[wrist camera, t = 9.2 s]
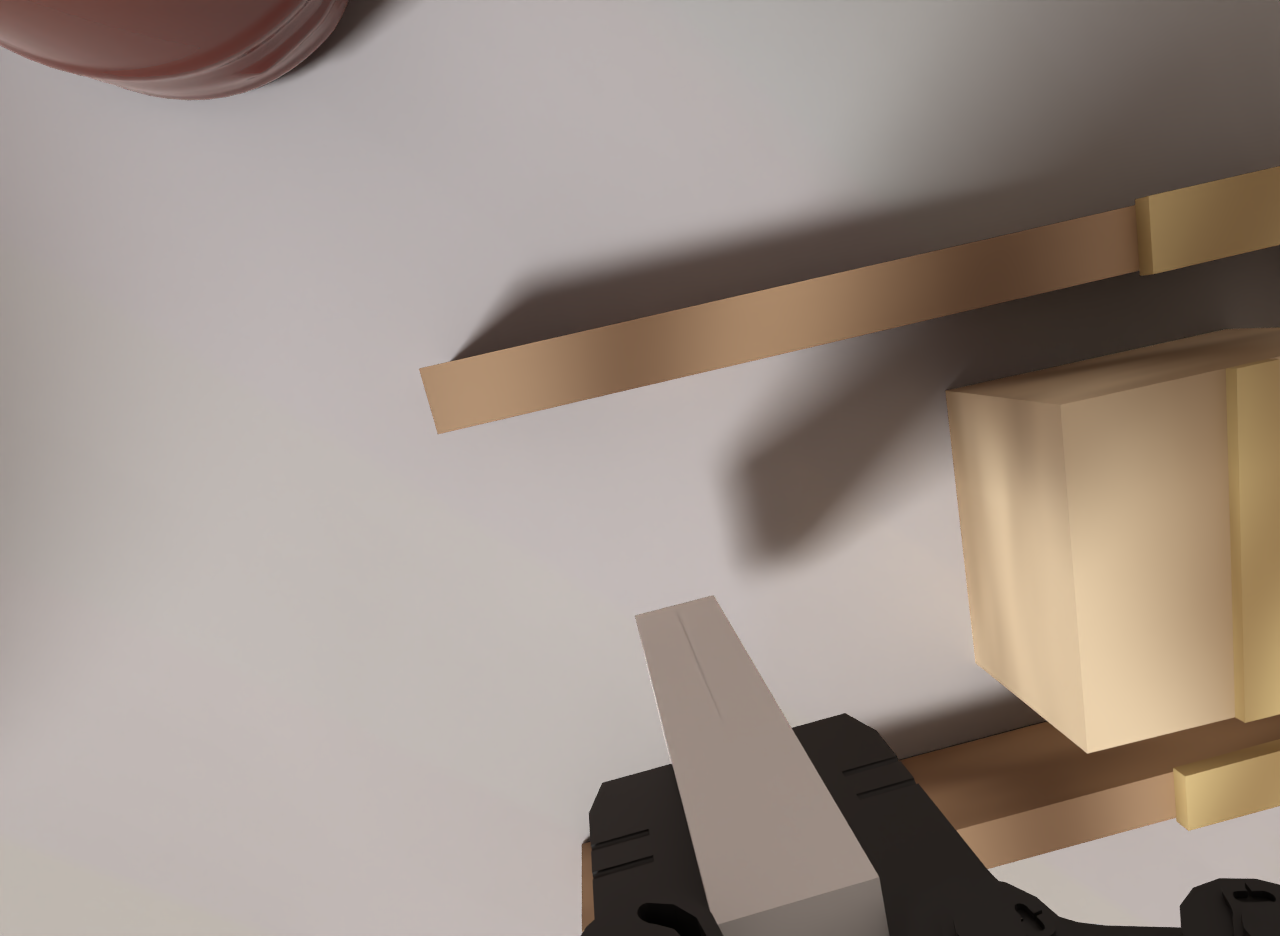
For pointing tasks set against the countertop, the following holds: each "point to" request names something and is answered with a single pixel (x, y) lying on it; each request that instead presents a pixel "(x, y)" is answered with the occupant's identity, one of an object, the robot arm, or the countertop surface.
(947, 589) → the countertop surface
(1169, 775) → the beam slot
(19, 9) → the mug
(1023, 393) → the block
